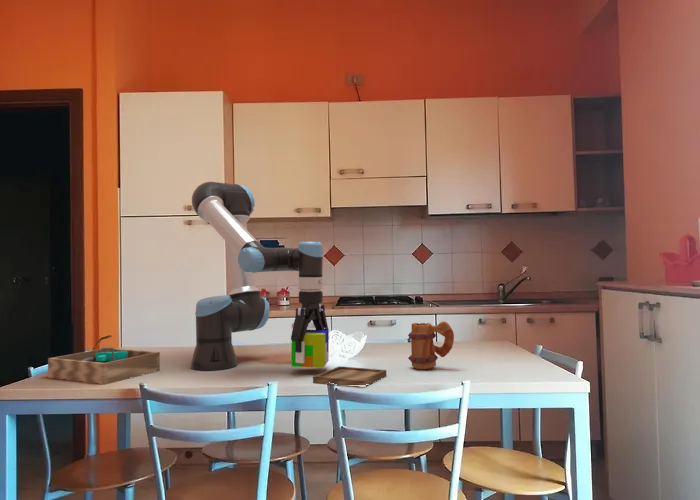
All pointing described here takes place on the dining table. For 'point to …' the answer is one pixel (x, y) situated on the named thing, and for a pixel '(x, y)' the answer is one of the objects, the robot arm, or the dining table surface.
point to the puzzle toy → (313, 349)
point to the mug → (429, 344)
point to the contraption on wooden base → (107, 354)
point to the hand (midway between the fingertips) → (310, 359)
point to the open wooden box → (103, 366)
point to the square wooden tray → (349, 376)
